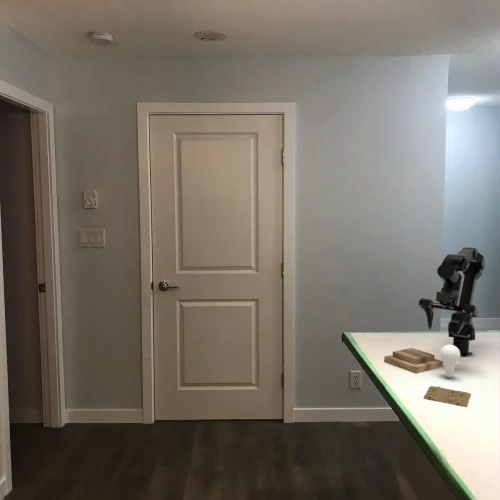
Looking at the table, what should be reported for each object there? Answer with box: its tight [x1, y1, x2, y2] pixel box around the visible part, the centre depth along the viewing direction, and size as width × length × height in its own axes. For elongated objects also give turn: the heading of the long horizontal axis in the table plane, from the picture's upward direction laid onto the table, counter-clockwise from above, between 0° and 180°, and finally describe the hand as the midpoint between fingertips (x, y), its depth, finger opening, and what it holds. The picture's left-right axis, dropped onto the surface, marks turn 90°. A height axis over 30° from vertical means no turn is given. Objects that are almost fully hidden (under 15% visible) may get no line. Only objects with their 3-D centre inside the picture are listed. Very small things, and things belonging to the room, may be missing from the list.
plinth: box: [383, 347, 444, 374], centre depth 178 cm, size 14×14×4 cm
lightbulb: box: [439, 344, 461, 379], centre depth 165 cm, size 6×6×11 cm
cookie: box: [423, 385, 472, 408], centre depth 149 cm, size 12×12×1 cm
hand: (443, 331), depth 172 cm, fingers open, 9 cm apart
